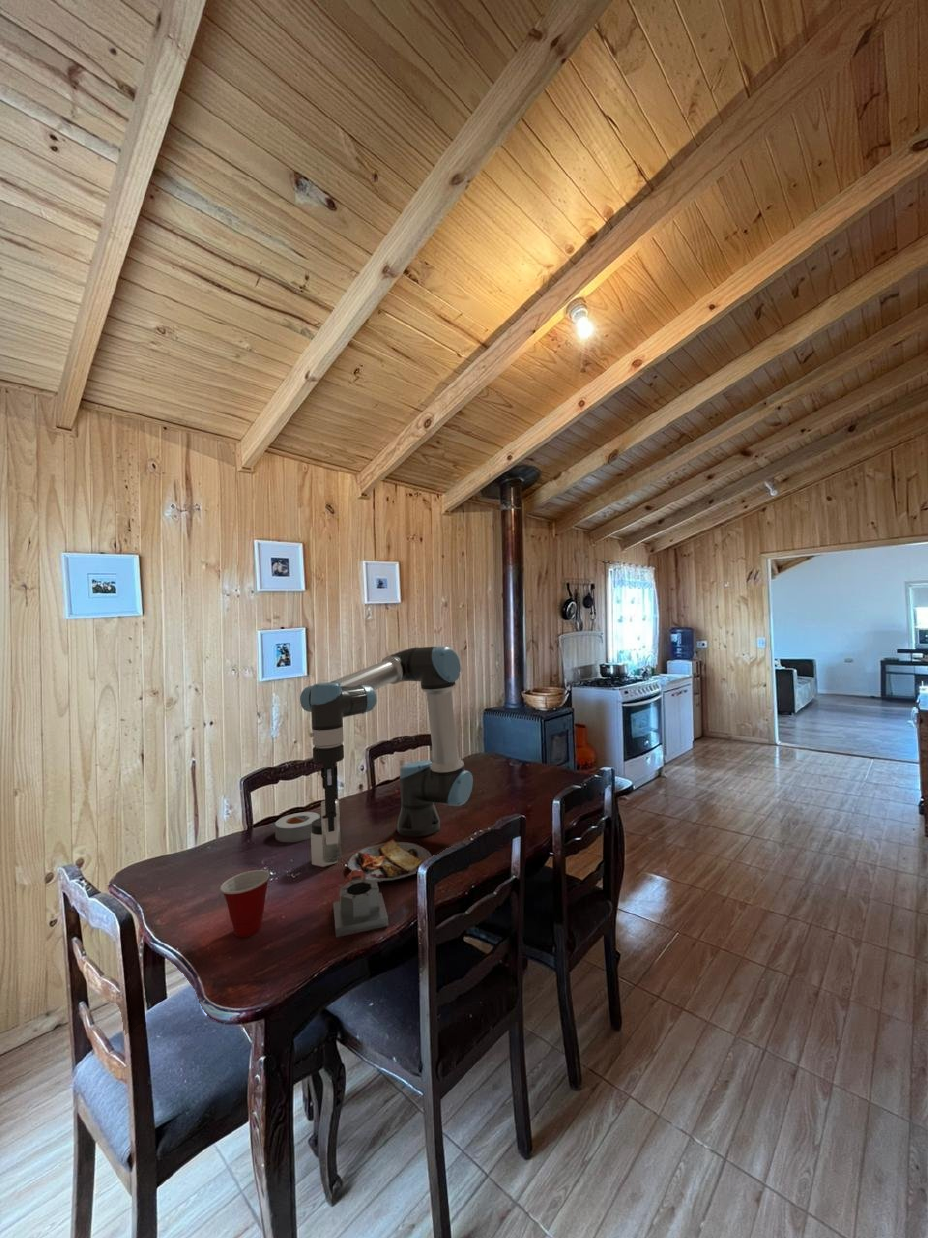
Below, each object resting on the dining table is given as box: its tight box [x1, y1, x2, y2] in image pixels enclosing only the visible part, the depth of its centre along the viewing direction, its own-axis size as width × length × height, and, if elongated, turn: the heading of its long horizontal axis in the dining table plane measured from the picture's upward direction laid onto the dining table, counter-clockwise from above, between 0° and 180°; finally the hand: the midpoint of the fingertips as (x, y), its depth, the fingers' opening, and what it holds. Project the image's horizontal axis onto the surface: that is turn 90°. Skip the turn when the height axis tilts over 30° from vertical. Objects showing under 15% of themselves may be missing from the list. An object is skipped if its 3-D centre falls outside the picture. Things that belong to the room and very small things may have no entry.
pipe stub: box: [320, 798, 342, 863], centre depth 121 cm, size 4×4×14 cm
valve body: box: [332, 870, 389, 938], centre depth 121 cm, size 12×16×7 cm
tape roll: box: [274, 811, 321, 843], centre depth 174 cm, size 15×15×5 cm
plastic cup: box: [220, 869, 271, 938], centre depth 116 cm, size 11×11×12 cm
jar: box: [310, 817, 339, 868], centre depth 151 cm, size 9×8×12 cm
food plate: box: [346, 838, 432, 883], centre depth 146 cm, size 25×23×4 cm
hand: (331, 839), depth 121 cm, fingers closed on pipe stub, 4 cm apart
